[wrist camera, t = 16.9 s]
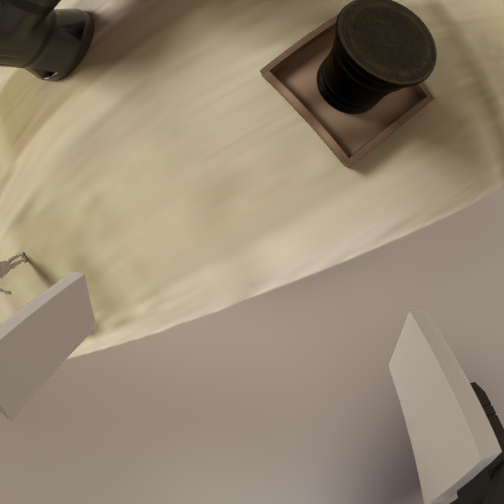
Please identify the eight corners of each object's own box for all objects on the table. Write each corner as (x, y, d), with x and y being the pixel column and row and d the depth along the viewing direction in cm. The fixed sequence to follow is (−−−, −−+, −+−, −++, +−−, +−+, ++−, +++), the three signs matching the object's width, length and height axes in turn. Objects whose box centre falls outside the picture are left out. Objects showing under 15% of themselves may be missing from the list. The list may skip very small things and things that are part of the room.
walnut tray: (262, 76, 33) (259, 70, 30) (348, 15, 28) (351, 6, 25) (344, 166, 36) (348, 167, 33) (425, 101, 31) (434, 98, 28)
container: (368, 49, 29) (414, -8, 12) (389, 108, 32) (455, 85, 15) (306, 60, 31) (314, -4, 14) (327, 120, 34) (356, 96, 17)
